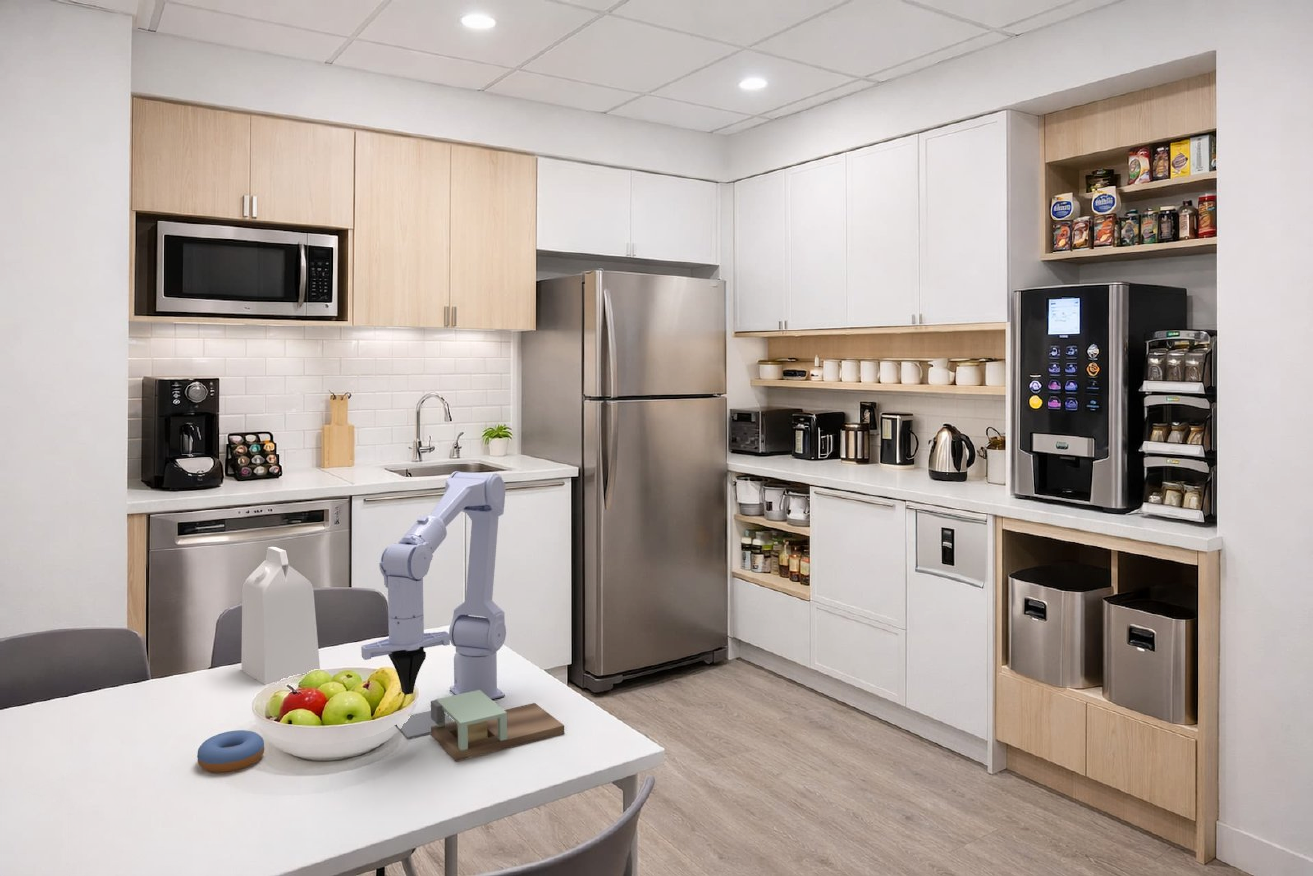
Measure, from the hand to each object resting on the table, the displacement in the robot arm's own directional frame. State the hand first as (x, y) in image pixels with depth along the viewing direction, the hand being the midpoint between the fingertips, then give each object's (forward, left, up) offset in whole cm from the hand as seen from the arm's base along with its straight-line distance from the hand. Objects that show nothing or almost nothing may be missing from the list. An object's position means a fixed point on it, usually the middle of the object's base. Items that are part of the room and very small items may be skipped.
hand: (407, 692), depth 149 cm
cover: (+4, +9, -8) cm, 13 cm away
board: (+4, +15, -9) cm, 18 cm away
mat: (-7, +5, -9) cm, 13 cm away
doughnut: (-10, -26, -10) cm, 30 cm away
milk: (-50, -11, -10) cm, 52 cm away
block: (+5, +10, -9) cm, 14 cm away
